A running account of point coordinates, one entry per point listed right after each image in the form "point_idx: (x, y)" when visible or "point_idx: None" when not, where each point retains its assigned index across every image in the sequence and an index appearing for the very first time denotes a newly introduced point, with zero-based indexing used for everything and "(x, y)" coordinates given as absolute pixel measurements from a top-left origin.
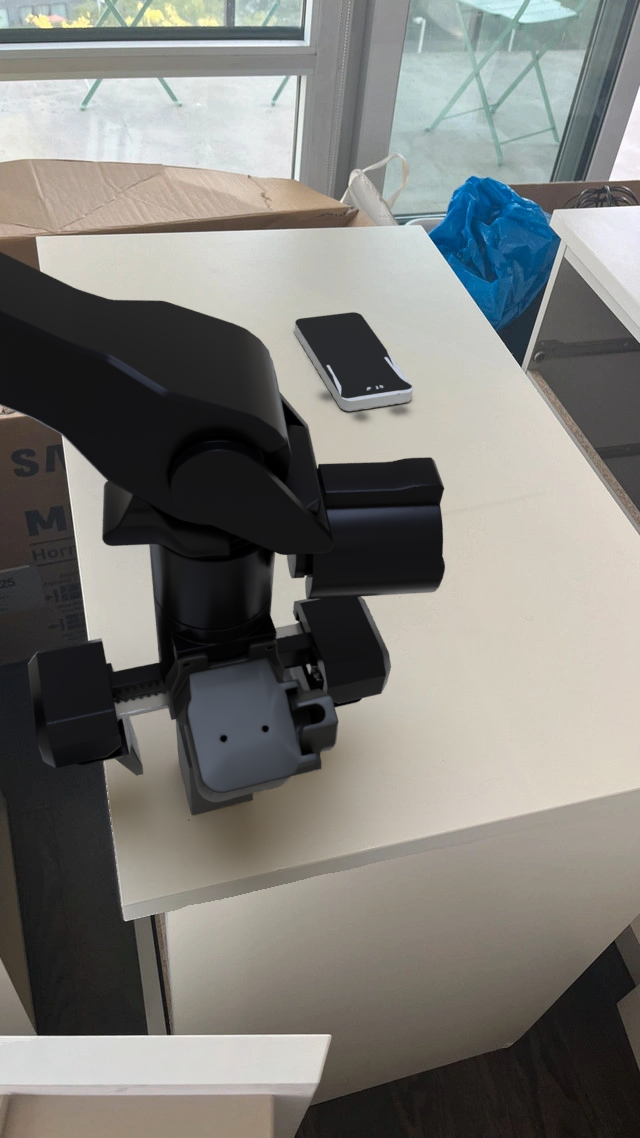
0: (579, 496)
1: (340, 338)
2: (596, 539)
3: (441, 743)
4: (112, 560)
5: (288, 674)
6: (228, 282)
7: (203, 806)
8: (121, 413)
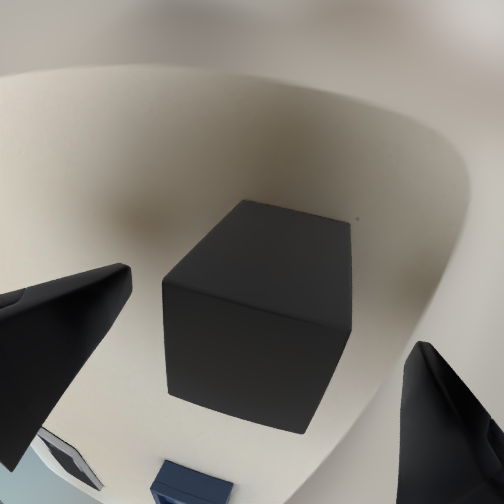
0: None
1: (75, 472)
2: None
3: (18, 172)
4: (274, 486)
5: (37, 395)
6: None
7: (329, 226)
8: None
